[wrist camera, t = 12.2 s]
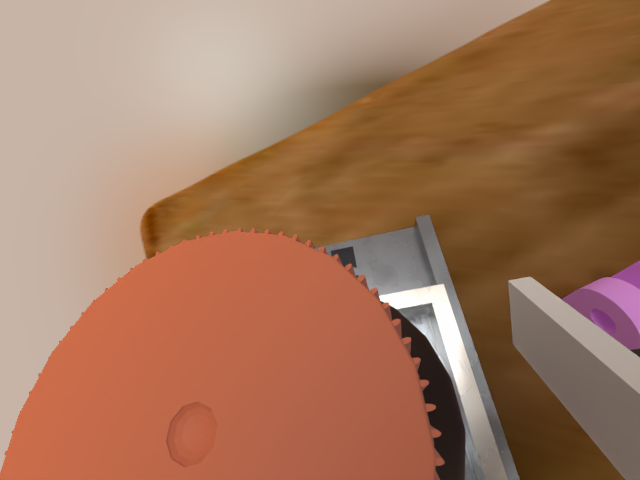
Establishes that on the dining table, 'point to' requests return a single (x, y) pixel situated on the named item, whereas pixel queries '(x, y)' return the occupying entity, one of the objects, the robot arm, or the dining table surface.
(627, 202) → the dining table surface
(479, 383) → the grey base plate
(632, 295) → the bracket
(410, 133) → the dining table surface
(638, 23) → the dining table surface
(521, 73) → the dining table surface
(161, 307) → the vinegar
